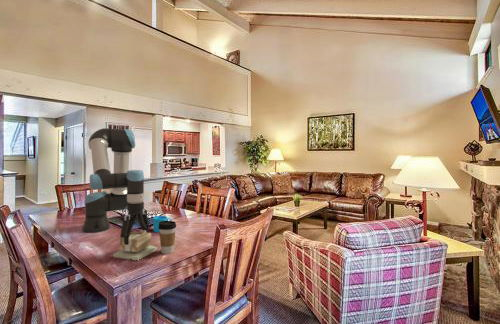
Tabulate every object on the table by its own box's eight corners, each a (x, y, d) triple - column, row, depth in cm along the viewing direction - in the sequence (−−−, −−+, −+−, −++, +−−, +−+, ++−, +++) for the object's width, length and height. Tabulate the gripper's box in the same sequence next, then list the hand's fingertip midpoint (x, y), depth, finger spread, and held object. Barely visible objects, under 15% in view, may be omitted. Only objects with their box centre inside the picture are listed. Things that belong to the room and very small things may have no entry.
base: (113, 256, 122) (113, 239, 122) (134, 246, 136) (134, 230, 135) (137, 260, 118) (137, 242, 118) (157, 249, 132) (157, 233, 131)
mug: (156, 233, 157) (156, 220, 157) (151, 230, 163) (151, 217, 163) (175, 229, 165) (175, 216, 165) (169, 226, 171) (169, 214, 171)
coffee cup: (161, 248, 133) (160, 219, 132) (177, 248, 134) (177, 219, 133) (156, 255, 125) (156, 224, 124) (174, 254, 125) (174, 224, 125)
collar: (151, 244, 130) (151, 233, 130) (137, 252, 121) (137, 239, 120) (134, 242, 133) (134, 230, 133) (119, 249, 124) (119, 237, 123)
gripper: (124, 207, 114) (124, 256, 115) (156, 198, 135) (157, 239, 137) (110, 206, 116) (111, 254, 117) (144, 197, 138) (145, 238, 139)
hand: (135, 246), depth 127 cm, fingers closed on collar, 10 cm apart
